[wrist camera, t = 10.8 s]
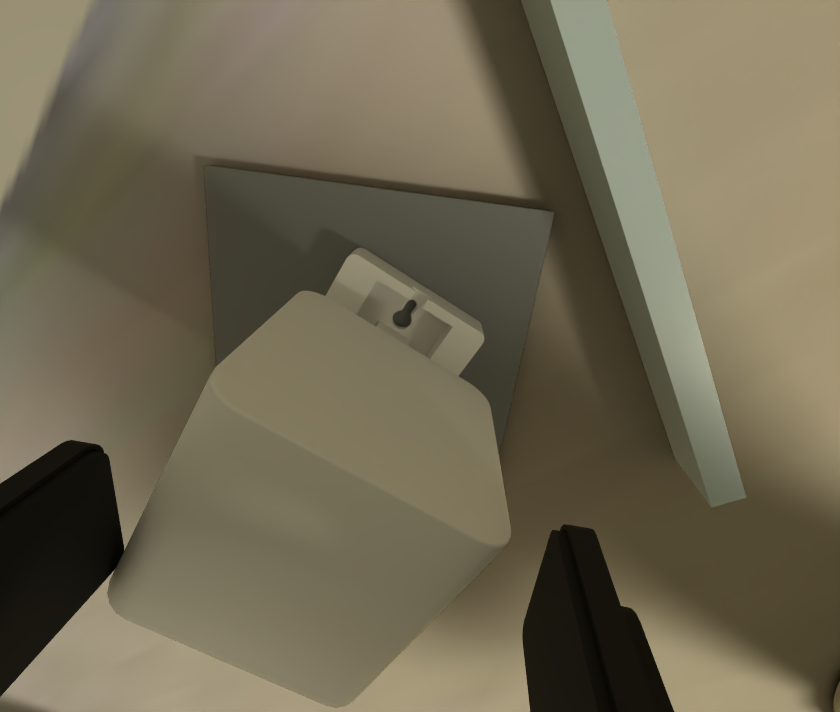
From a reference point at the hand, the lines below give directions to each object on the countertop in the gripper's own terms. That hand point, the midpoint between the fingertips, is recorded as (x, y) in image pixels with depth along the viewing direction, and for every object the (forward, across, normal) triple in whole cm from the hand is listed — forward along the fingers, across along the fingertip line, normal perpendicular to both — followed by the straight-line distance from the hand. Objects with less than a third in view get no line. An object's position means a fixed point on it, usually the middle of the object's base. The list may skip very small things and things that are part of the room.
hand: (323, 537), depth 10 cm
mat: (+10, +1, 0) cm, 10 cm away
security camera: (+9, +1, 0) cm, 9 cm away
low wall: (+10, -7, -6) cm, 14 cm away
